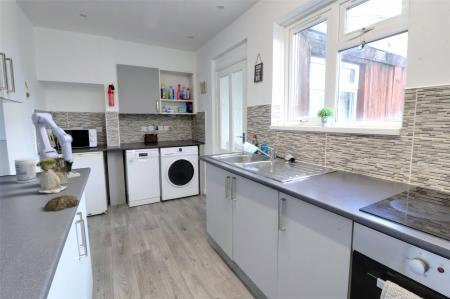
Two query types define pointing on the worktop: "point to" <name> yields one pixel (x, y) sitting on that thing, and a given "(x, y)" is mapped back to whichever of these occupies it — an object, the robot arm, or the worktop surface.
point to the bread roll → (61, 203)
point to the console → (72, 174)
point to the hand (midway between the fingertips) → (69, 171)
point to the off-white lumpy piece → (49, 177)
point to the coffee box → (60, 170)
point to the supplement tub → (25, 170)
